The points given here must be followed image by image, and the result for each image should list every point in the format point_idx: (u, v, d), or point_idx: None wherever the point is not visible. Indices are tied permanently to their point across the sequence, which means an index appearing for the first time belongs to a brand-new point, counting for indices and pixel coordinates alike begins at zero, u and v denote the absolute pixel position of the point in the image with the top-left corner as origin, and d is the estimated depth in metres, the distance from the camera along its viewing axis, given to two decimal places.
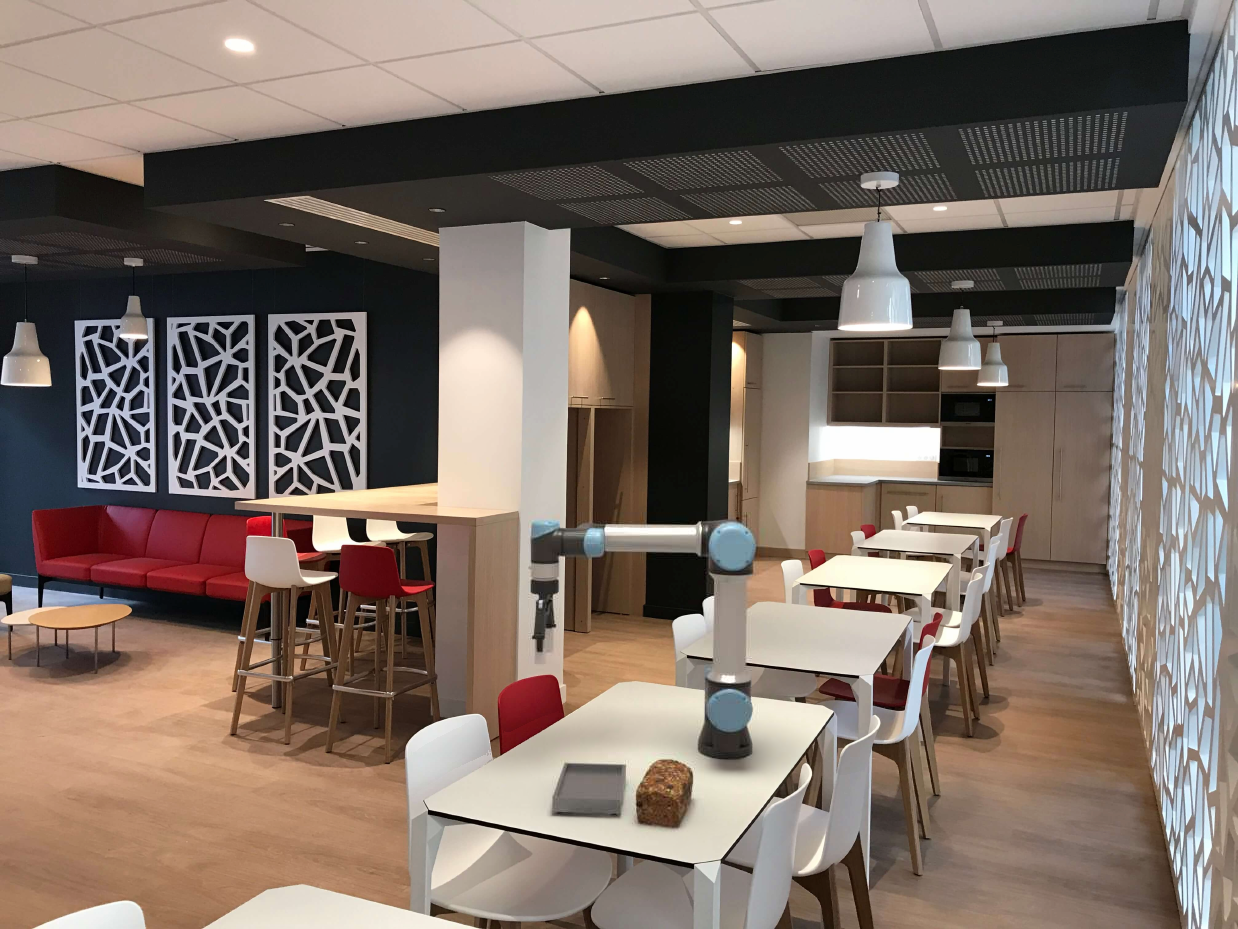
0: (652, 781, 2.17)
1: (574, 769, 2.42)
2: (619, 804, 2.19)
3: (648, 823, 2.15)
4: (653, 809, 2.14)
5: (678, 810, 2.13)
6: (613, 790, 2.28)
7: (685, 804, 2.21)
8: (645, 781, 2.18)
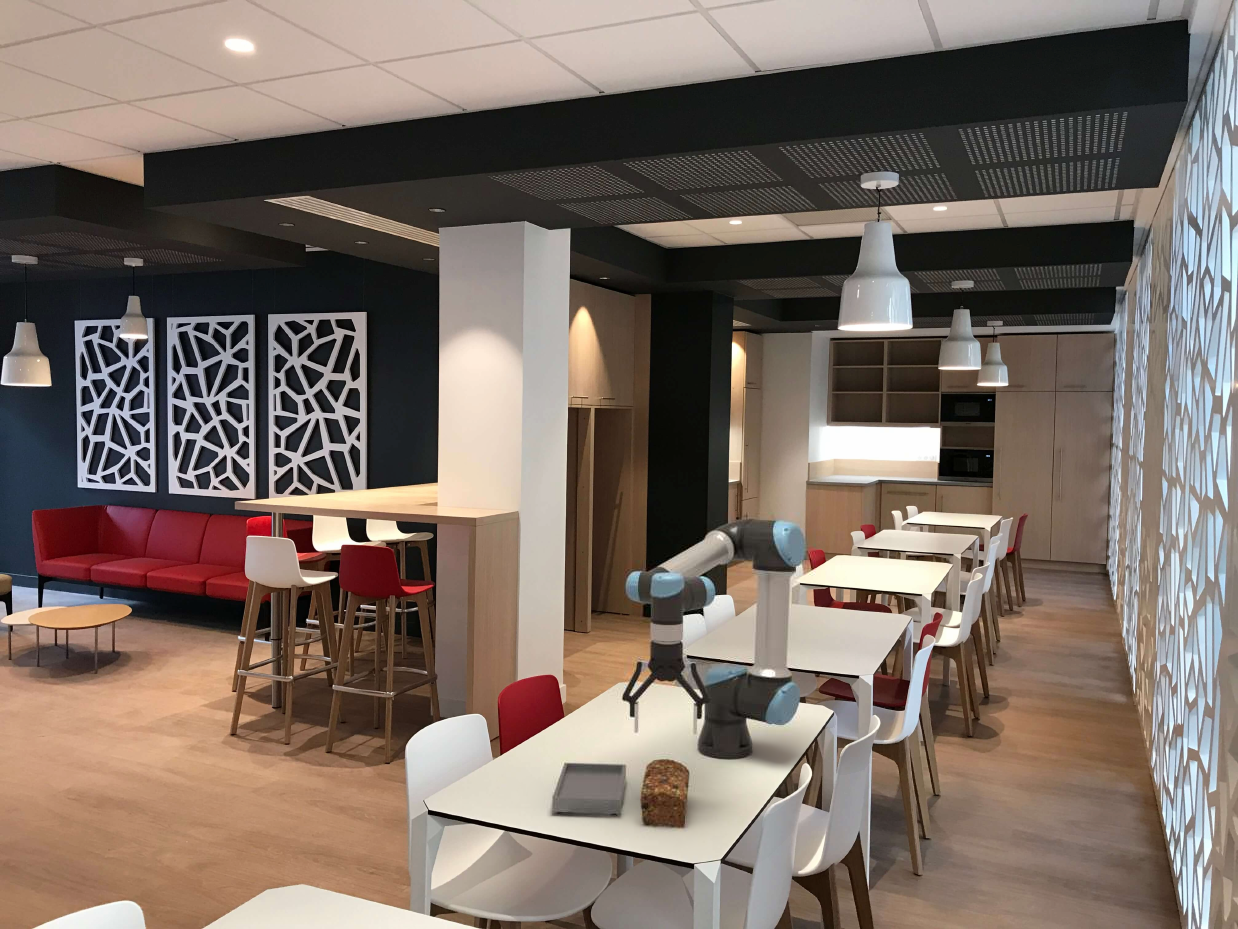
0: (656, 782, 2.17)
1: (574, 769, 2.42)
2: (619, 804, 2.19)
3: (654, 824, 2.14)
4: (659, 810, 2.14)
5: (684, 809, 2.13)
6: (613, 790, 2.28)
7: None
8: (649, 782, 2.17)
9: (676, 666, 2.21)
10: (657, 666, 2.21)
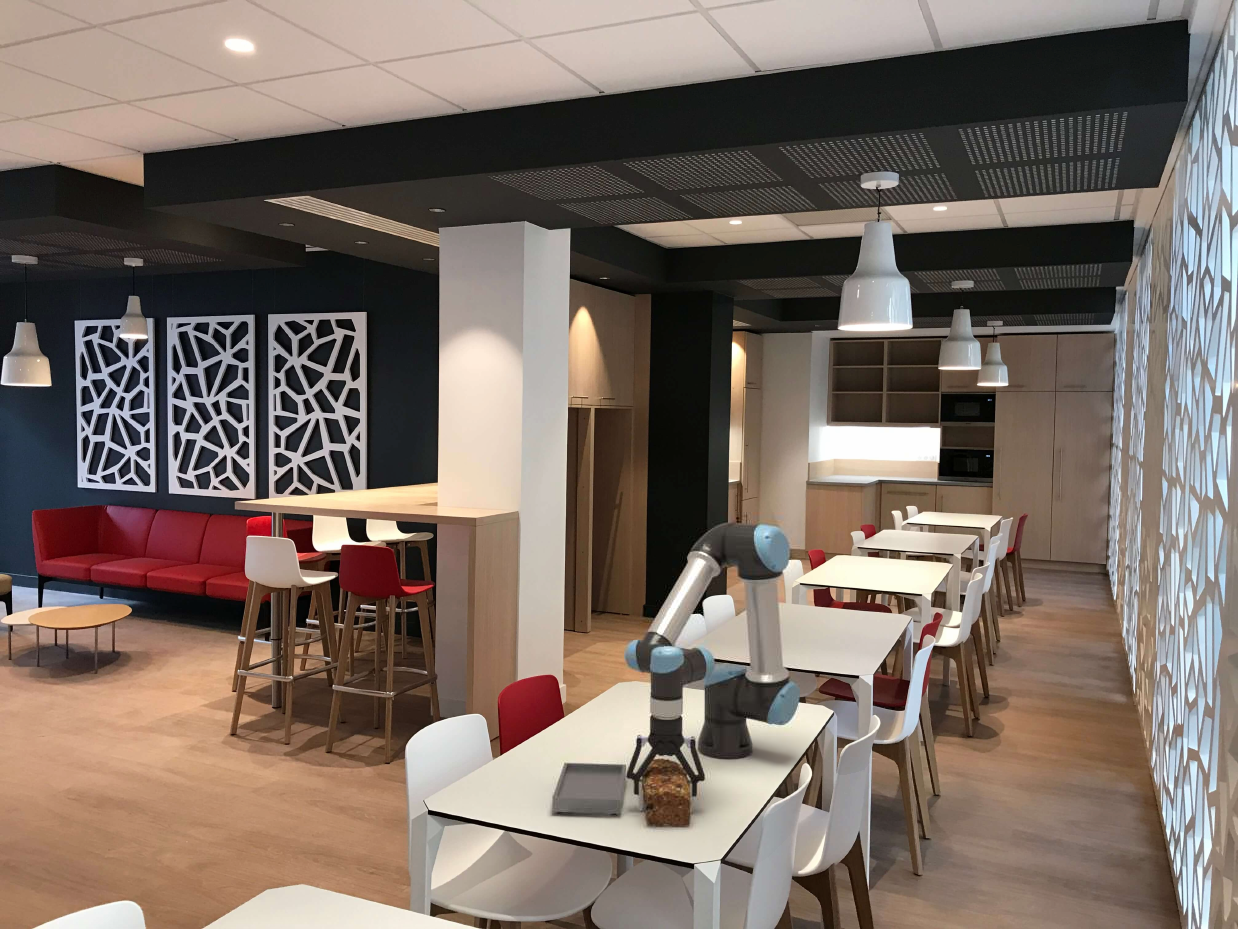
0: (659, 782, 2.16)
1: (574, 769, 2.42)
2: (619, 804, 2.19)
3: (659, 824, 2.14)
4: (664, 810, 2.13)
5: (689, 808, 2.14)
6: (613, 790, 2.28)
7: None
8: (651, 782, 2.17)
9: (676, 740, 2.21)
10: (657, 740, 2.21)
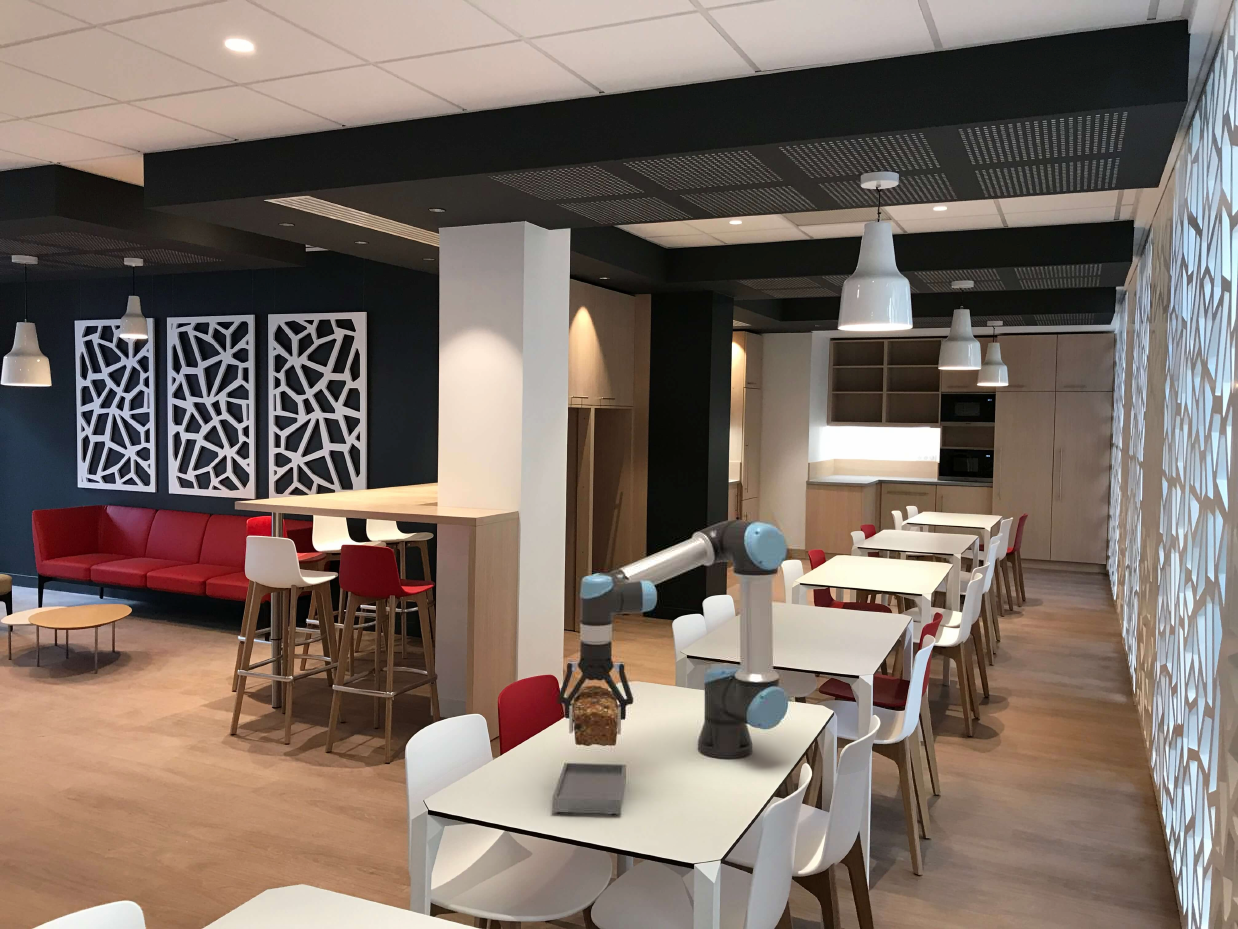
0: (588, 703, 2.23)
1: (574, 769, 2.42)
2: (619, 804, 2.19)
3: (586, 744, 2.21)
4: (591, 730, 2.20)
5: (616, 728, 2.21)
6: (613, 790, 2.28)
7: None
8: (580, 704, 2.24)
9: (605, 665, 2.28)
10: (586, 665, 2.28)
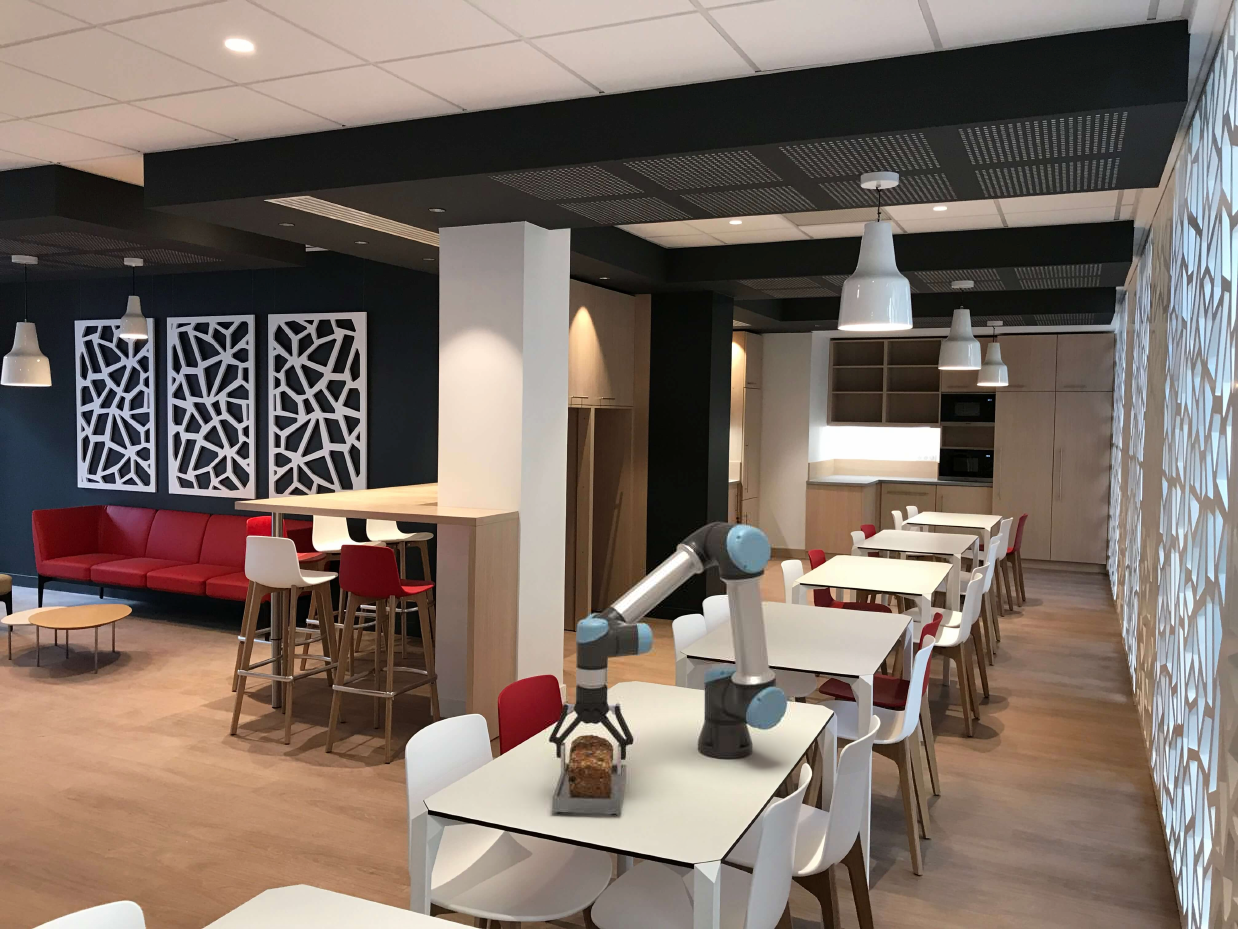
0: (582, 756, 2.24)
1: None
2: (619, 804, 2.19)
3: (580, 796, 2.22)
4: (585, 783, 2.21)
5: (610, 781, 2.22)
6: (613, 790, 2.28)
7: None
8: (575, 756, 2.25)
9: (600, 709, 2.29)
10: (582, 709, 2.29)
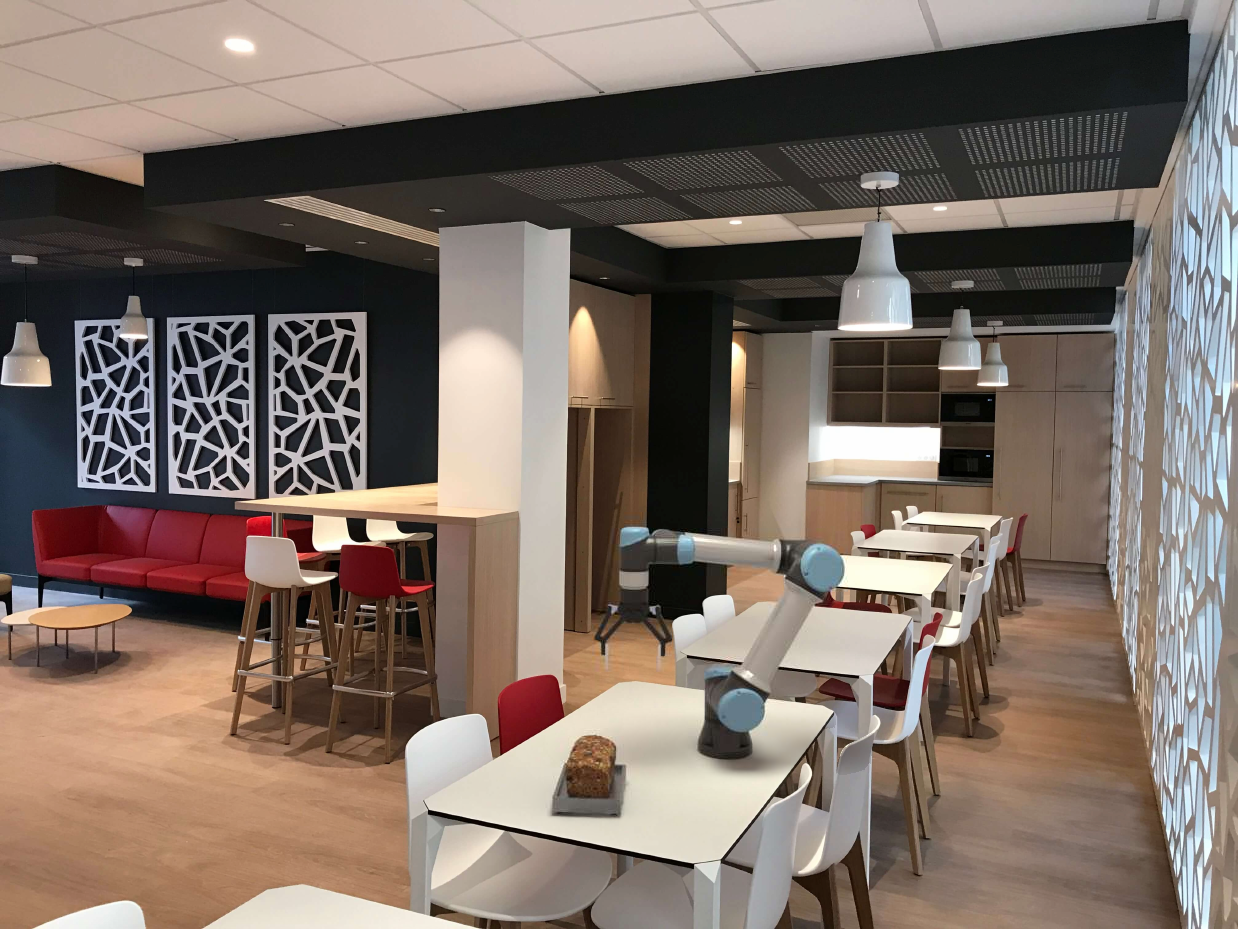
0: (581, 755, 2.25)
1: None
2: (619, 804, 2.19)
3: (578, 796, 2.22)
4: (582, 783, 2.21)
5: (607, 782, 2.21)
6: (613, 790, 2.28)
7: (611, 776, 2.30)
8: (574, 756, 2.25)
9: (642, 609, 2.48)
10: (625, 609, 2.48)
